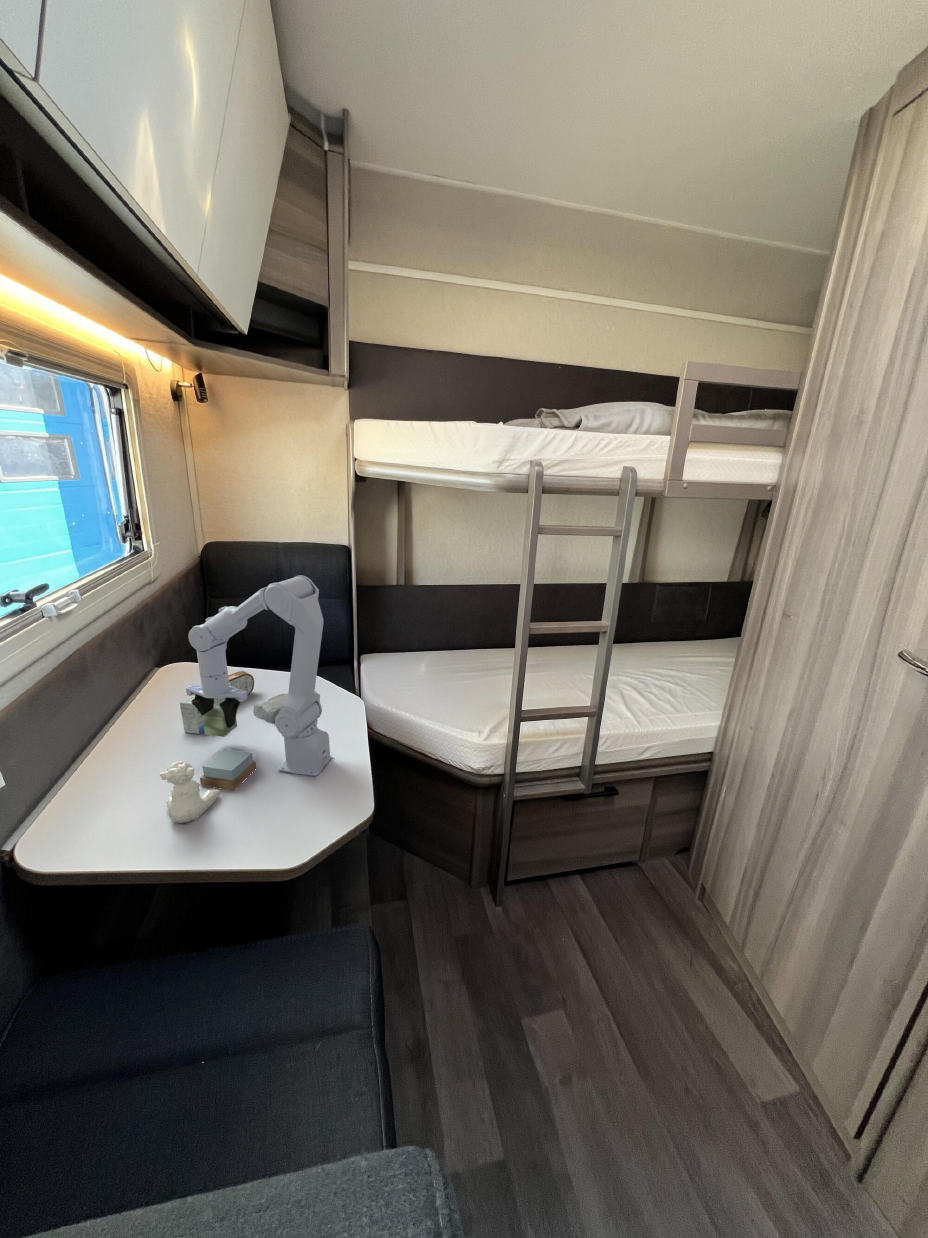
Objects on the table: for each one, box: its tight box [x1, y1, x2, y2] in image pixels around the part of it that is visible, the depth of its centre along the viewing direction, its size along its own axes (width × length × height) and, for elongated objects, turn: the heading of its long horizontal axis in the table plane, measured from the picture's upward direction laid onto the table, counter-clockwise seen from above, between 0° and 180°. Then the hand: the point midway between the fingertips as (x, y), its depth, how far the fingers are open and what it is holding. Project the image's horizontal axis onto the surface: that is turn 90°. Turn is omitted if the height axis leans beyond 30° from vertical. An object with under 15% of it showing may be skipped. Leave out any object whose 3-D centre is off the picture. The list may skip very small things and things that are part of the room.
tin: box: [217, 670, 255, 706], centre depth 136 cm, size 15×3×8 cm, turn 154°
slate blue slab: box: [202, 748, 254, 781], centre depth 102 cm, size 7×7×2 cm
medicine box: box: [179, 695, 218, 735], centre depth 122 cm, size 8×4×9 cm, turn 168°
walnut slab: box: [199, 760, 258, 792], centre depth 103 cm, size 8×8×2 cm
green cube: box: [202, 706, 238, 738], centre depth 112 cm, size 5×5×5 cm
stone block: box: [252, 693, 288, 724], centre depth 132 cm, size 12×5×10 cm
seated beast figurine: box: [159, 760, 221, 824], centre depth 90 cm, size 10×9×12 cm
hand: (220, 724), depth 112 cm, fingers closed on green cube, 5 cm apart
